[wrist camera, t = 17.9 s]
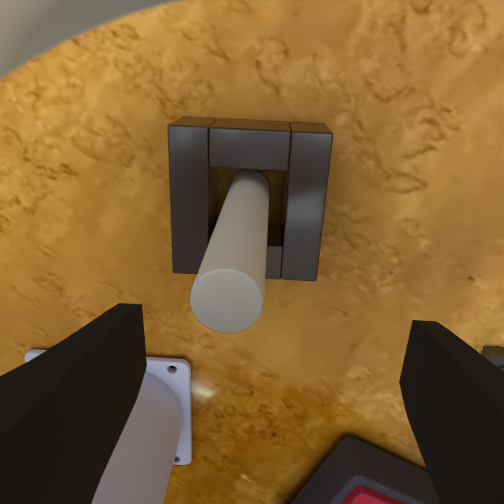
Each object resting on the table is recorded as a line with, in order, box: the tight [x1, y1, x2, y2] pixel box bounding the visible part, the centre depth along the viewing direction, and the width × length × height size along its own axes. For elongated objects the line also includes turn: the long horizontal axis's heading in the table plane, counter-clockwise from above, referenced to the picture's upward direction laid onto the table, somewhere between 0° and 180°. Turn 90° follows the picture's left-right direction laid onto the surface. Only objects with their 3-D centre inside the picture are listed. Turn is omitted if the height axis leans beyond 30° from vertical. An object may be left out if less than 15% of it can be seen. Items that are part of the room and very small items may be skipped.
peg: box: [190, 169, 270, 333], centre depth 15 cm, size 2×2×11 cm
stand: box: [168, 117, 333, 281], centre depth 19 cm, size 6×6×3 cm
